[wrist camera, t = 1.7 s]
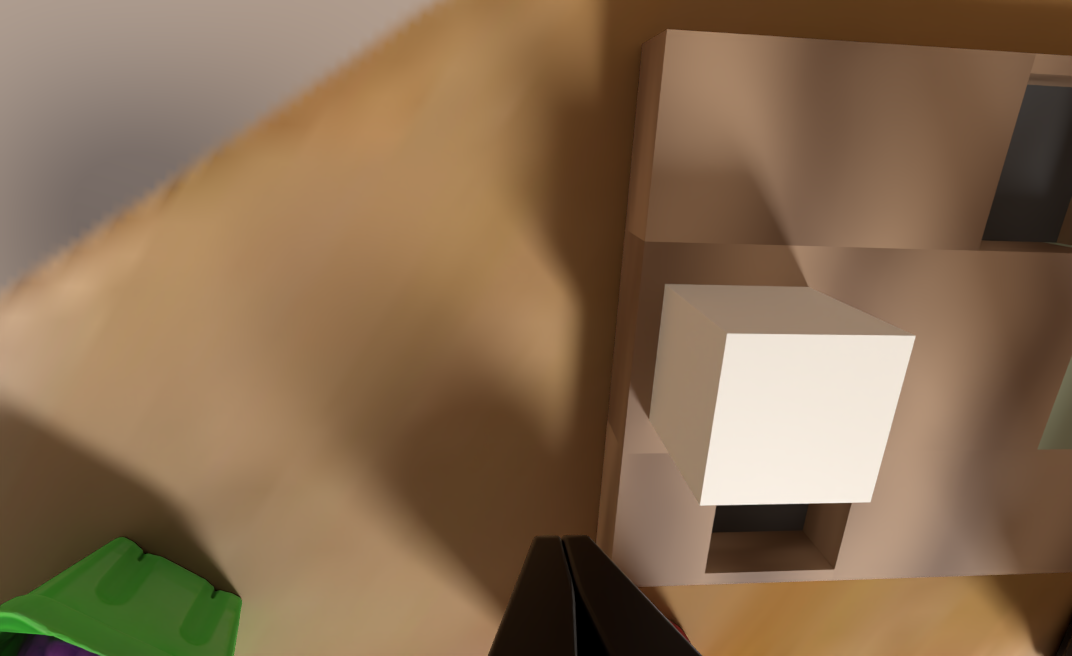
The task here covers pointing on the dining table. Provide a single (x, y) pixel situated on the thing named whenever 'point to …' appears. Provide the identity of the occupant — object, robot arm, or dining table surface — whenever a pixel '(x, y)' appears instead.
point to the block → (775, 393)
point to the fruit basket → (121, 610)
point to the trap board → (859, 295)
